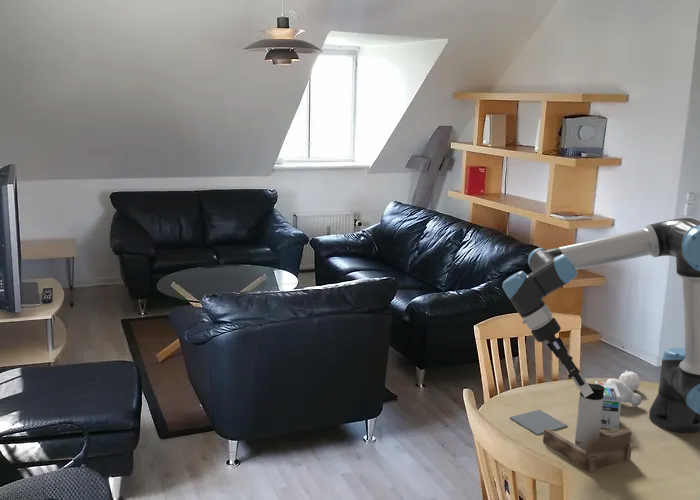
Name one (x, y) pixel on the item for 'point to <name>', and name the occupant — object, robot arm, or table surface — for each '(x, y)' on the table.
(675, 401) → the robot arm
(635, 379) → the ornament
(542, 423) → the grey mat
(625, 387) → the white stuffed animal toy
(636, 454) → the table surface
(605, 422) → the light bulb box
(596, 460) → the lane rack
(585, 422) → the travel mug
